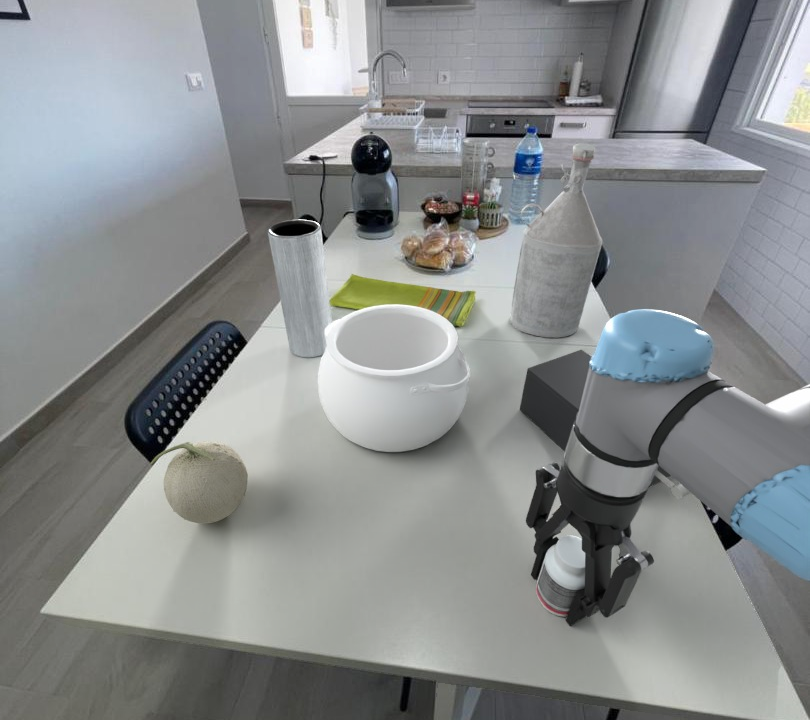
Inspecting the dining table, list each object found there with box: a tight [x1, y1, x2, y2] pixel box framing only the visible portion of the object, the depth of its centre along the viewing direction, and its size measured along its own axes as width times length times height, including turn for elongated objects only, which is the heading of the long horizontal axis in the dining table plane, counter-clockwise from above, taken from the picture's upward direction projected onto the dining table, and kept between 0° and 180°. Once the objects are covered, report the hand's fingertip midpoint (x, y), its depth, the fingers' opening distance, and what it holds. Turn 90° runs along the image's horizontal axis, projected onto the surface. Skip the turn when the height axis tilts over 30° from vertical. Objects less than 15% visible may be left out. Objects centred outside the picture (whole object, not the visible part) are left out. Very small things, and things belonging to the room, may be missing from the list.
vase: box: [267, 219, 333, 358], centre depth 93 cm, size 10×10×27 cm
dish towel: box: [329, 273, 477, 328], centre depth 116 cm, size 15×36×3 cm, turn 71°
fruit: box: [149, 441, 249, 524], centre depth 62 cm, size 10×12×15 cm
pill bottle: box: [535, 534, 585, 618], centre depth 52 cm, size 5×5×10 cm
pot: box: [317, 304, 471, 453], centre depth 78 cm, size 29×26×16 cm
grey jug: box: [509, 143, 603, 339], centre depth 96 cm, size 13×17×40 cm
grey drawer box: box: [519, 349, 593, 452], centre depth 77 cm, size 15×13×10 cm
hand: (558, 594), depth 55 cm, fingers open, 5 cm apart
